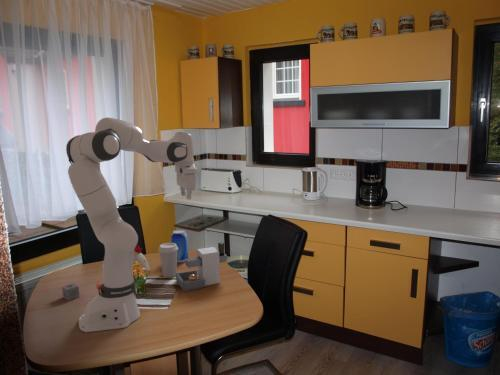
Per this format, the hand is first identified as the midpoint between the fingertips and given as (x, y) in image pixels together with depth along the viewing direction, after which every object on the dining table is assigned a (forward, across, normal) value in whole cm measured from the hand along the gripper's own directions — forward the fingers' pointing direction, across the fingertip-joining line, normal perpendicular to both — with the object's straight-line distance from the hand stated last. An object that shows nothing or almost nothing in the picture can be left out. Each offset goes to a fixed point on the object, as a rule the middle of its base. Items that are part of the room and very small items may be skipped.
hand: (186, 197), depth 196 cm
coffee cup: (+39, -7, -8) cm, 41 cm away
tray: (+39, +9, -2) cm, 40 cm away
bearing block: (+39, +9, +7) cm, 41 cm away
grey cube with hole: (+39, 0, -53) cm, 66 cm away
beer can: (+39, -25, +2) cm, 47 cm away
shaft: (+30, +9, +6) cm, 32 cm away
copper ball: (+36, +9, -1) cm, 38 cm away
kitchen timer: (+39, -16, -23) cm, 48 cm away
